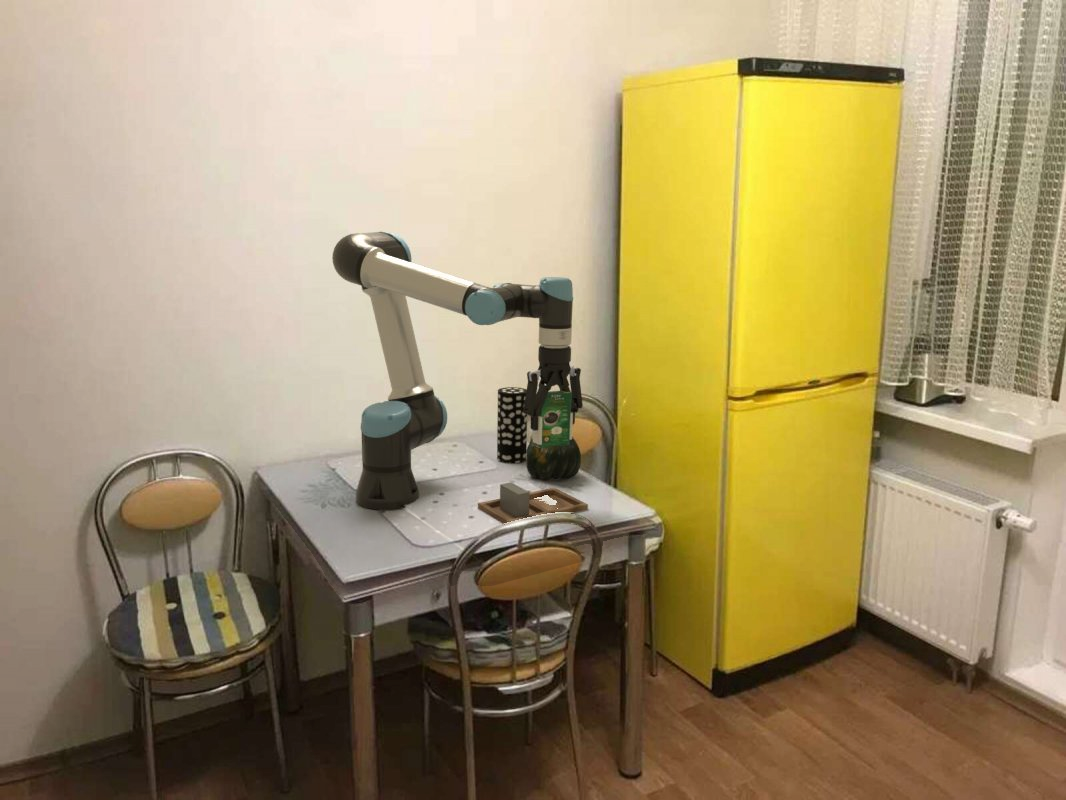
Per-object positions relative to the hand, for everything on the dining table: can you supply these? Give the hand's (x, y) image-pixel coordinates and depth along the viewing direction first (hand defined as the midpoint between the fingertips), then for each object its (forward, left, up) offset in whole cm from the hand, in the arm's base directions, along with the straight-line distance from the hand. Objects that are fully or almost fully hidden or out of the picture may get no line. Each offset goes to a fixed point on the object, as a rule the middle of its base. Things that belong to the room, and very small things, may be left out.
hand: (552, 440), depth 203 cm
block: (-10, 0, -16) cm, 19 cm away
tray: (-5, 0, -17) cm, 18 cm away
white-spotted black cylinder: (+13, +38, -17) cm, 44 cm away
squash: (+14, +19, -17) cm, 29 cm away
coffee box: (0, 0, -1) cm, 1 cm away
